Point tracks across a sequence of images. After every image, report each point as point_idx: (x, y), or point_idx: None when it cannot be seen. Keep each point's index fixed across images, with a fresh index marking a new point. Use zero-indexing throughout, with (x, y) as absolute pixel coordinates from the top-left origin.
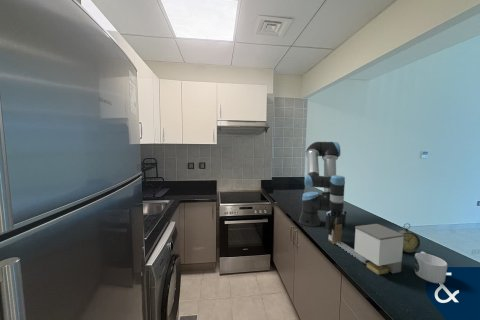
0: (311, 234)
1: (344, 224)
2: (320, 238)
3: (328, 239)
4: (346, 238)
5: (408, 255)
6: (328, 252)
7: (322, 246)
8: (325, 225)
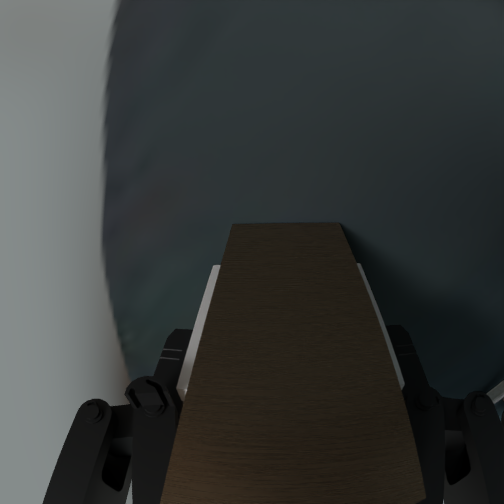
0: (116, 30)
1: (452, 473)
2: (168, 149)
3: (230, 234)
4: (476, 228)
5: (497, 407)
6: (127, 364)
7: (112, 302)
8: (68, 434)
